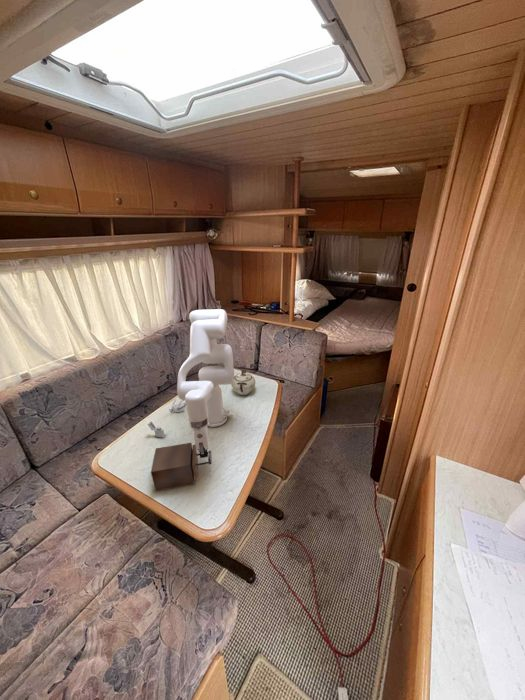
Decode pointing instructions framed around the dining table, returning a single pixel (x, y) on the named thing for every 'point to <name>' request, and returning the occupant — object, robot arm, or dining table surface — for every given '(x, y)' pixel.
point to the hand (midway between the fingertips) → (204, 456)
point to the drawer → (195, 461)
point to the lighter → (157, 430)
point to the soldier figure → (177, 406)
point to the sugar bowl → (243, 383)
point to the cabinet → (172, 466)
